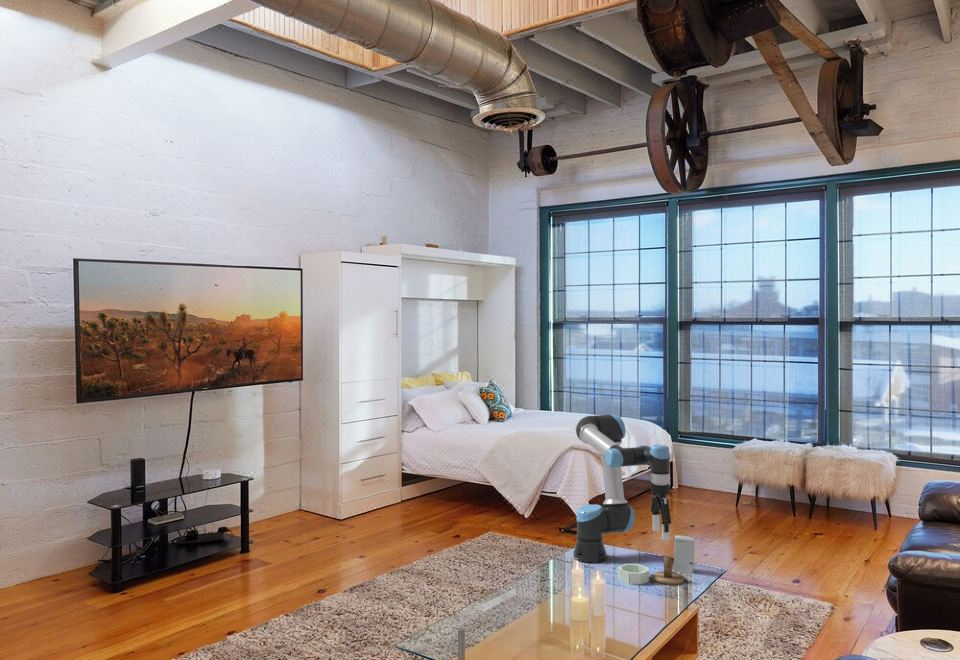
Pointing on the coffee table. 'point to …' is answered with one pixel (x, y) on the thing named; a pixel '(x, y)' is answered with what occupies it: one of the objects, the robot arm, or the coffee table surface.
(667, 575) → the lid
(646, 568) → the bowl
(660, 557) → the coffee table surface
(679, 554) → the skincare box
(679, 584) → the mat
